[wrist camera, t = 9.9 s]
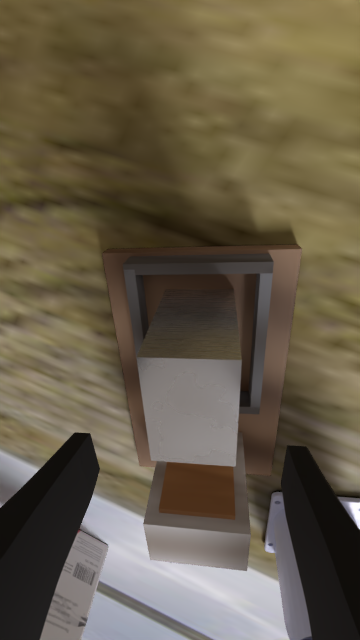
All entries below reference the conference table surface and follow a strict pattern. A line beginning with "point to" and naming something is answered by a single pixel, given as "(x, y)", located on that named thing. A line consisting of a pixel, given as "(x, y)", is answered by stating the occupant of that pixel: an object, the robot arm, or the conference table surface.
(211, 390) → the grey rectangular block
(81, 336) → the conference table surface
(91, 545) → the ink box
